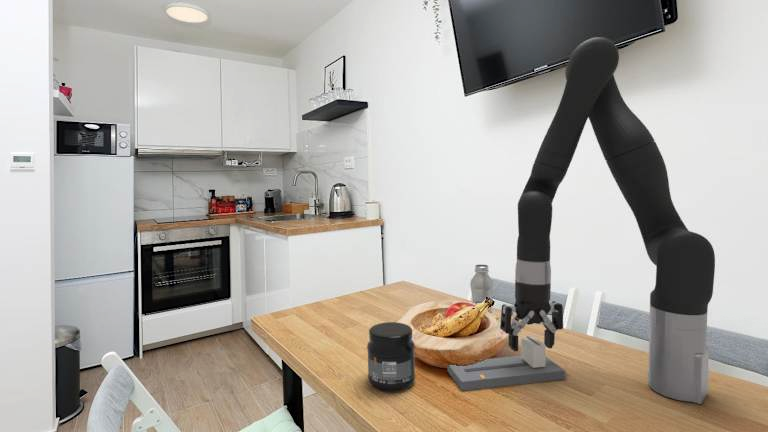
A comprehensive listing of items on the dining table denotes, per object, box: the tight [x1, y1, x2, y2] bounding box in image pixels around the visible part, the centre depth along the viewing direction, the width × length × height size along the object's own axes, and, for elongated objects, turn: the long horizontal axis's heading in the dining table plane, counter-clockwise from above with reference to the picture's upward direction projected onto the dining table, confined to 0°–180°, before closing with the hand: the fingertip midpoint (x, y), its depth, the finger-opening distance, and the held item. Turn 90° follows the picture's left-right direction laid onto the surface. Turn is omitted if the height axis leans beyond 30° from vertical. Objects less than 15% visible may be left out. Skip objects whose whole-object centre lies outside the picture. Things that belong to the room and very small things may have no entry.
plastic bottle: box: [469, 264, 494, 315], centre depth 111 cm, size 6×7×20 cm
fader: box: [520, 336, 546, 368], centre depth 87 cm, size 3×5×5 cm, turn 10°
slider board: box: [447, 355, 566, 392], centre depth 86 cm, size 24×9×2 cm, turn 100°
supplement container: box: [366, 321, 416, 393], centre depth 84 cm, size 10×10×12 cm
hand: (531, 348), depth 87 cm, fingers open, 8 cm apart
